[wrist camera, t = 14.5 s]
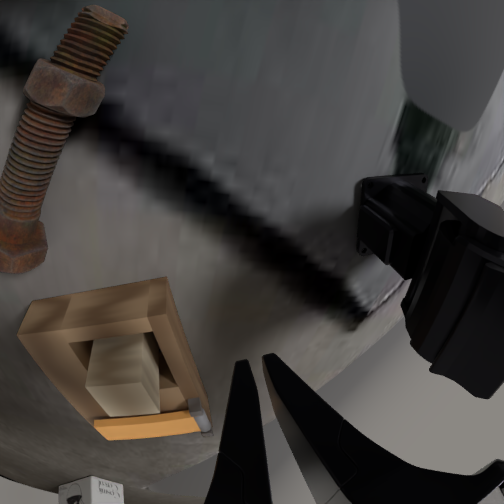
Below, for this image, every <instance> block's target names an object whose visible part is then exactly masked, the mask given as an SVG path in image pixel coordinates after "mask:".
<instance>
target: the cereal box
mask: <svg viewBox="0 0 504 504" xmlns="http://www.w3.org/2000/svg"><path fill="white" fill-rule="evenodd" d="M59 504H124V497H123V485H122V484H119V483H116V482H112V481H108V480H105V479H101V478H98V477H95V476H89V477H86V478H83V479H80V480H77V481H74V482H71V483H67V484H64V485H60V486H59Z"/></svg>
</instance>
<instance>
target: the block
mask: <svg viewBox="0 0 504 504" xmlns="http://www.w3.org/2000/svg"><path fill="white" fill-rule="evenodd" d="M151 331H153V333H154V335H155V337H156V340H157V342H158V344H159V347H160V349H161V351H162V352H160V353H159V397H160V413H155V414H144V415H132V416H114V417H110V416H109V415H108V414H107V413H106V412H105V410H104V409H103V408H102V407H101V406H100V405H99V403H98V402H97V401H96V400H95V399H94V397H93V396H92V395H91V394H90V392H89V391H88V390H87V389H86V387H85V385H86V378H87V373H88V367H89V361H90V356H91V351H92V346H93V341H94V340H96V339H104V338H111V337H118V336H125V335H132V334H139V333H145V332H151ZM17 337H18V338H19V339H20V341H21V342H22V344H23V345H24V347H25V348H26V349H27V351H28V352H29V354H30V355H31V356H32V358H33V359H34V360H35V362H36V363H37V364H38V366H39V367H40V368H41V369H42V371H43V372H44V373H45V374H46V376H47V377H48V378H49V379H50V380H51V382H52V383H53V384H54V385H55V386H56V388H57V389H58V390H59V391H60V392H61V393H62V394H63V396H64V397H65V398H66V399H67V400H68V401H69V402H70V403H71V404H72V405H73V407H74V408H75V409H76V410H77V411H78V412H79V413H80V414H81V415H82V416H83V417H84V418H85V419H86V420H87V421H88V422H89V423H90V424H91V425H92V426H93V427H94V420H102V419H118V418H130V417H140V416H149V415H158V414H165V413H173V412H179V411H186V410H189V413H190V415H191V417H195V416H202V415H203V411H202V408H203V409H204V411H205V413H206V415H207V417H208V420H209V422H210V424H211V429H210V430H209V431H207V432H202V431H201V435H202V436H203V437H209V436H213V431H212V427H213V426H212V420H211V415H210V409H209V403H208V397H207V394H206V391H205V389H204V386H203V383H202V381H201V378H200V375H199V373H198V370H197V367H196V365H195V362H194V359H193V356H192V353H191V351H190V348H189V345H188V342H187V339H186V336H185V333H184V330H183V327H182V324H181V321H180V318H179V315H178V312H177V309H176V306H175V302H174V299H173V296H172V293H171V289H170V286H169V283H168V279H167V277H162V278H157V279H151V280H146V281H141V282H135V283H130V284H124V285H119V286H113V287H108V288H102V289H97V290H91V291H86V292H80V293H75V294H69V295H63V296H58V297H52V298H46V299H41V300H35V301H32V303H31V305H30V307H29V309H28V311H27V313H26V315H25V317H24V319H23V322H22V324H21V326H20V328H19V331H18V333H17ZM100 434H101V433H100Z"/></svg>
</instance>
